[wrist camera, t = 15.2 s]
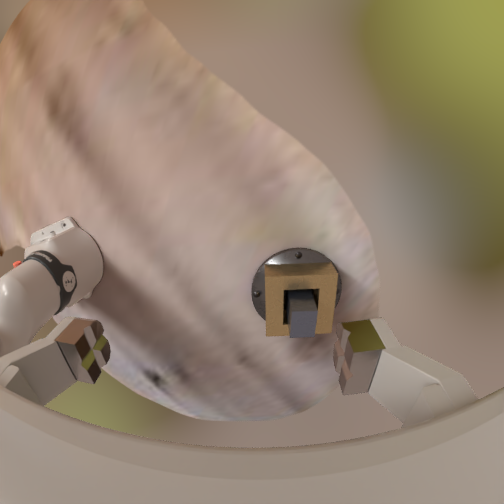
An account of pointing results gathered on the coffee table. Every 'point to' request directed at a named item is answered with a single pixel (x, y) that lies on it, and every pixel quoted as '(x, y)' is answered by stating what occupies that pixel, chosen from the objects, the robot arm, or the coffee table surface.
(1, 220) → the coffee table surface
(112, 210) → the coffee table surface
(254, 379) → the coffee table surface
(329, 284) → the rosette plate
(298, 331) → the grey rectangular block
